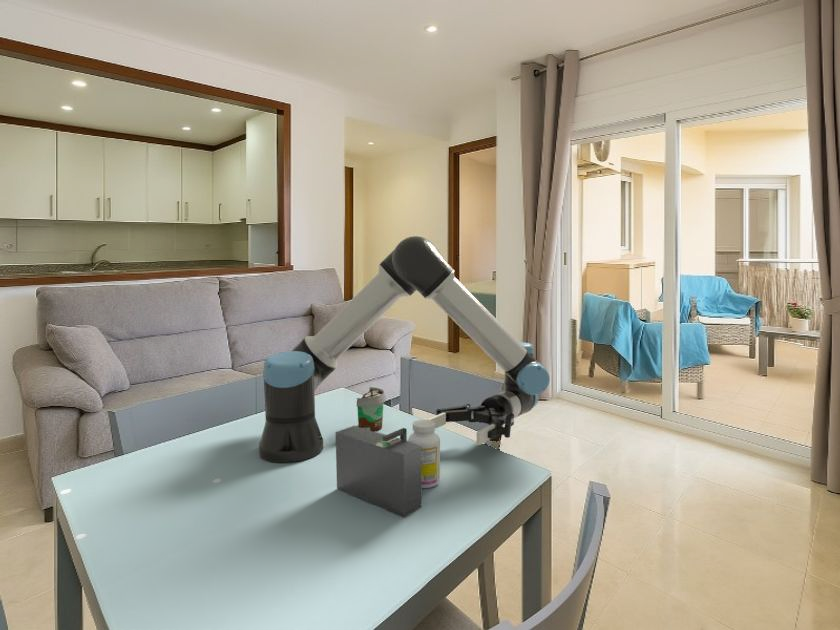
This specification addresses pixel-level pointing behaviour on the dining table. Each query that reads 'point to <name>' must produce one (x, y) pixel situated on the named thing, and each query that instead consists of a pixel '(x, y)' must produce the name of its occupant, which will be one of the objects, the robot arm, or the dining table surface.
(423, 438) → the supplement bottle
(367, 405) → the food container
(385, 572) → the dining table surface
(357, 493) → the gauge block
